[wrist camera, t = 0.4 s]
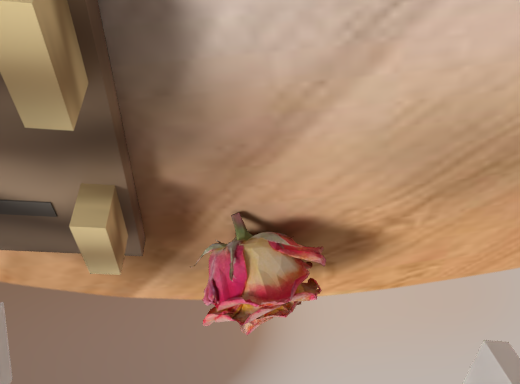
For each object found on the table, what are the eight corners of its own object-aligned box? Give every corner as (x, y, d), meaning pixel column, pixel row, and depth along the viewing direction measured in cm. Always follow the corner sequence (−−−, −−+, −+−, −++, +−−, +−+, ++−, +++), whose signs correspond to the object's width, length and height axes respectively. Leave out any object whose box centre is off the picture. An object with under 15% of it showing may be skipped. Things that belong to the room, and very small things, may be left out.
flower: (152, 241, 33) (186, 349, 33) (232, 211, 27) (276, 346, 26) (248, 211, 40) (278, 301, 40) (330, 182, 34) (367, 289, 33)
